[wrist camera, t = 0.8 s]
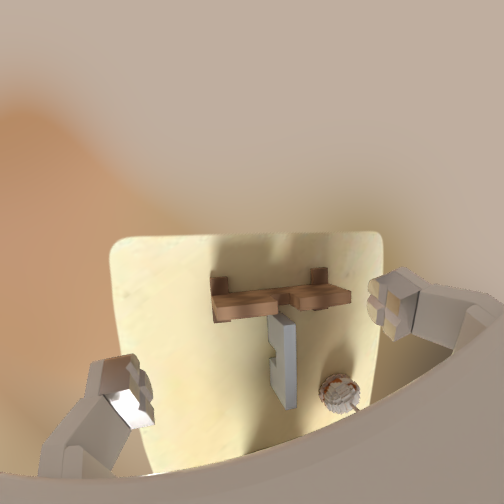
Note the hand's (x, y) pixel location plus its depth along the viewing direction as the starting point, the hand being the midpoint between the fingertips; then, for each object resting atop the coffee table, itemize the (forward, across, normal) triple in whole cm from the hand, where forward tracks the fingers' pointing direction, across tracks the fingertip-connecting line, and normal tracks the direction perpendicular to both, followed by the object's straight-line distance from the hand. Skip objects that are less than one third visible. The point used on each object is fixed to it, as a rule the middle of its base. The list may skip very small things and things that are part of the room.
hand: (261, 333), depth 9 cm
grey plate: (+34, +8, -35) cm, 49 cm away
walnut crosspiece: (+37, +10, -25) cm, 46 cm away
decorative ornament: (+29, +19, -49) cm, 60 cm away
